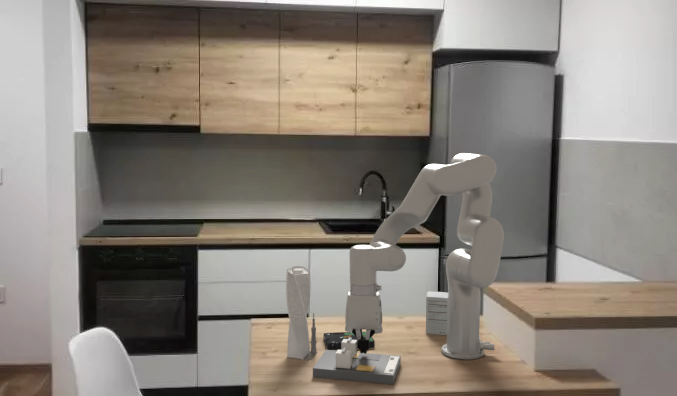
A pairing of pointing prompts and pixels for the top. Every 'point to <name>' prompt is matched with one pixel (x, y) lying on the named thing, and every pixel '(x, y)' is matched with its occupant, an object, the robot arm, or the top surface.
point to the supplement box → (436, 313)
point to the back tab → (350, 345)
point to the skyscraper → (299, 314)
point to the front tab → (344, 358)
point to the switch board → (359, 367)
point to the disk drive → (341, 339)
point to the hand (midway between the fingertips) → (364, 351)
